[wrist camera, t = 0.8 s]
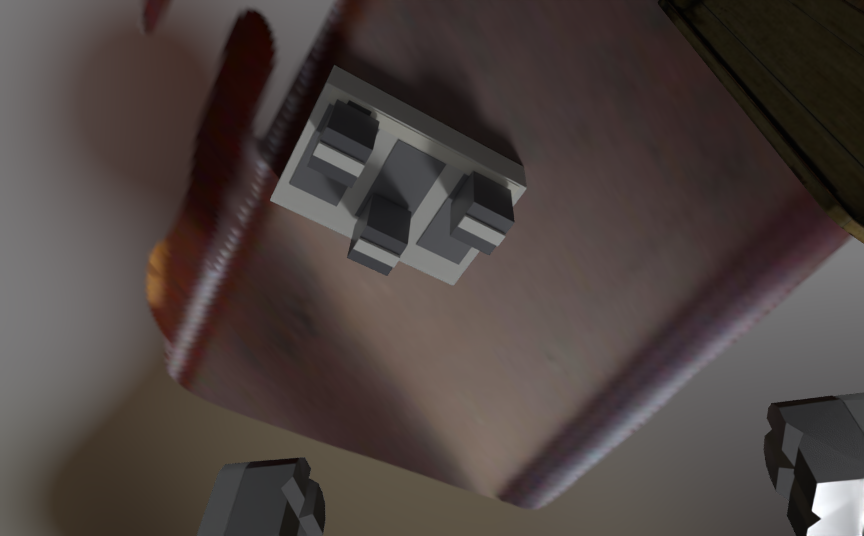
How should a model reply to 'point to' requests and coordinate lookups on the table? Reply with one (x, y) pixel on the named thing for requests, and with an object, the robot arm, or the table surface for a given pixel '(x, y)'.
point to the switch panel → (396, 175)
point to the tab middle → (380, 235)
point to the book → (793, 85)
